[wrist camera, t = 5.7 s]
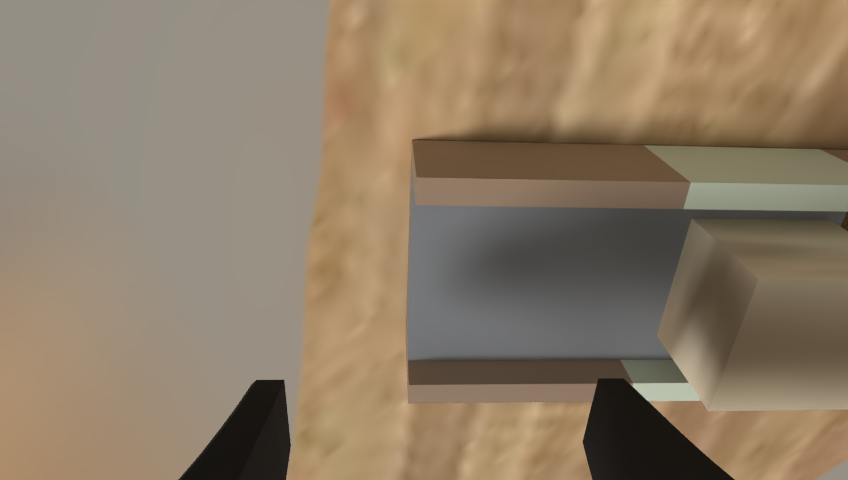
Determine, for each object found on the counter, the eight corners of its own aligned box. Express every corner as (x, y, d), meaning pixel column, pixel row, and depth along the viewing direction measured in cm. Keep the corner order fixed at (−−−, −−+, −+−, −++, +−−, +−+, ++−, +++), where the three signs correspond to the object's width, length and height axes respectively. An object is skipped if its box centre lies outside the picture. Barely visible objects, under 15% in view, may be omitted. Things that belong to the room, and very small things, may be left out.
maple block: (780, 335, 19) (854, 409, 16) (657, 335, 19) (708, 410, 16) (830, 220, 17) (926, 279, 14) (691, 218, 17) (758, 278, 14)
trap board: (885, 341, 22) (956, 398, 20) (405, 342, 21) (408, 403, 18) (987, 153, 19) (1094, 189, 16) (412, 139, 17) (416, 177, 15)
